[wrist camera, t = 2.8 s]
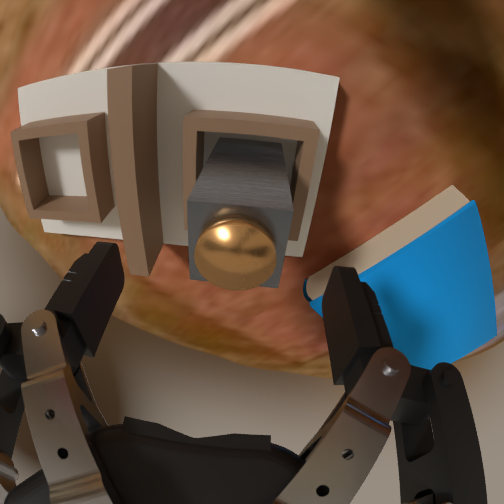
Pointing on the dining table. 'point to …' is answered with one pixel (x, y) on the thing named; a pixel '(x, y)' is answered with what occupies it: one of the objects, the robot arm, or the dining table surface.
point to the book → (427, 280)
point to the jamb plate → (161, 145)
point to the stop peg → (240, 215)
